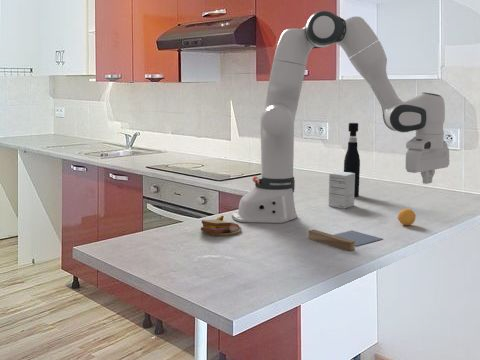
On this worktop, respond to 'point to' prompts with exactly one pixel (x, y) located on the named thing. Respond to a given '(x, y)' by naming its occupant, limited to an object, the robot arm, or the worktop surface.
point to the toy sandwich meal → (220, 227)
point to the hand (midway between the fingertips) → (427, 183)
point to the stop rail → (332, 240)
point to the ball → (406, 217)
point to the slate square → (358, 237)
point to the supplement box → (341, 189)
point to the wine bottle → (353, 157)
